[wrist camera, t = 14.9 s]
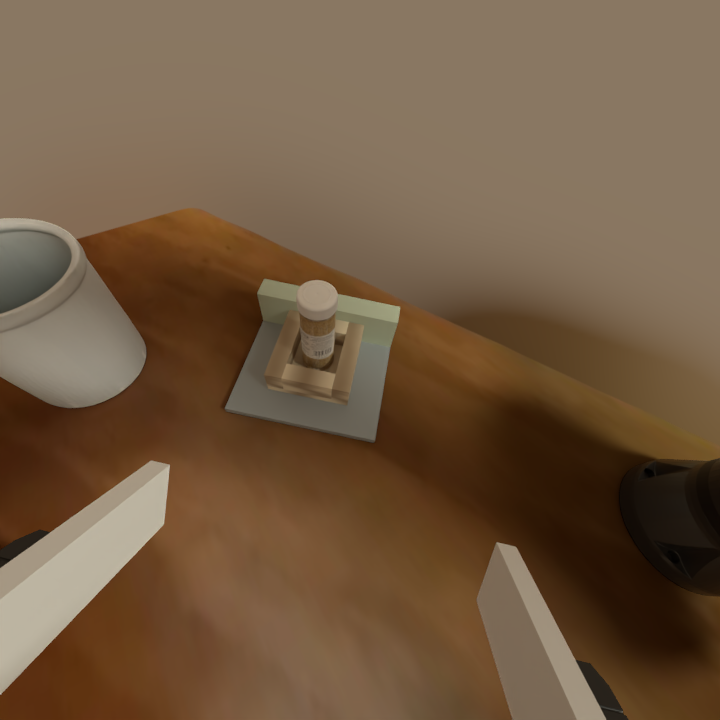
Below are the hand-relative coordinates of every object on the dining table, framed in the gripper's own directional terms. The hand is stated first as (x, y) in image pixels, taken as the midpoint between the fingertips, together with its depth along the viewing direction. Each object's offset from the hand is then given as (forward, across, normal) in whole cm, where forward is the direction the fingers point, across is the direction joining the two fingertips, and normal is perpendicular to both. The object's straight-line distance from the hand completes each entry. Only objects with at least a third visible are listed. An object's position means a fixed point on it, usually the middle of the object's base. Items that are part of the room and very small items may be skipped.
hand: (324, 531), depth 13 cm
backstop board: (+36, -7, -3) cm, 36 cm away
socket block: (+35, -7, -2) cm, 36 cm away
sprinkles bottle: (+35, -7, -2) cm, 35 cm away
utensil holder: (+31, -37, -8) cm, 49 cm away
